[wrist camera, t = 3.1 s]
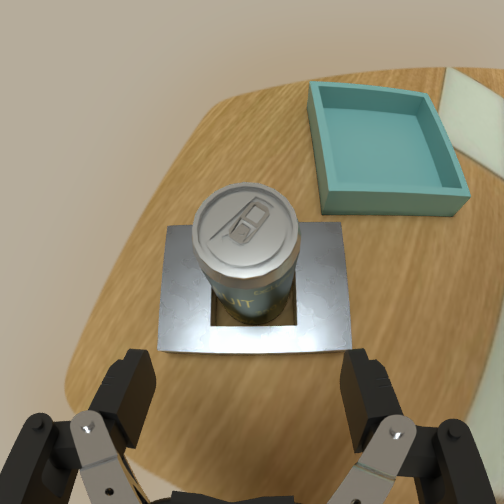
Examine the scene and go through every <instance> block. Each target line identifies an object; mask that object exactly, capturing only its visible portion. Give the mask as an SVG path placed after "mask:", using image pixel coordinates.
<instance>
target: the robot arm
mask: <svg viewBox="0 0 504 504" xmlns="http://www.w3.org/2000/svg"><path fill="white" fill-rule="evenodd" d="M391 385H392V384H391V382H390V379H389V378H388V374H387V372H386V370H385V367H384V366H383V365H382V364H381V363H380V362H379V361H377V360H369V359H368V356H367V354H366V351H365V349H364V348H361V349H349V350H345V353H344V359H343V364H342V369H341V375H340V390H341V394H342V399H343V403H344V407H345V412H346V416H347V421H348V425H349V430H350V434H351V439H352V443H353V448H354V453H361V452H363V454H362V456H361V457H360V459H359V460H358V462H357V463H356V464H355V465H354V466H353V467H352V469H351V470H350V472H349V473H348V475H347V476H346V478H345V479H344V480H343V482H342V483H341V485H340V486H339V488H338V489H337V490H336V492H335V493H334V495H333V496H332V497H331V499H330V500H329V501H328V503H327V504H383V502H384V501H385V499H386V497H387V495H388V494H389V492H390V490H391V488H392V486H393V484H394V482H395V480H396V479H395V478H396V476H404V477H414V481H415V485H416V490H417V495H418V500H419V504H496V501H495V497H494V494H493V491H492V488H491V485H490V482H489V479H488V476H487V473H486V470H485V468H484V465H483V462H482V459H481V457H480V454H479V451H478V449H477V446H476V444H475V441H474V439H473V436H472V434H471V431H470V429H469V427H468V426H467V425H466V424H465V423H464V422H463V421H461V420H458V419H448V420H445V421H444V422H442V423H441V424H440V426H439V427H438V428H437V427H422V426H417V425H415V424H414V422H413V421H412V420H411V419H409V418H408V417H406V416H404V415H403V413H402V410H401V407H400V405H399V402H398V400H397V397H396V394H395V392H394V389H393V387H392V386H391ZM155 389H156V376H155V372H154V369H153V366H152V362H151V359H150V356H149V353H148V351H147V350H141V349H129V350H128V351H127V353H126V355H125V357H124V359H123V360H119V359H118V360H117V361H116V362H115V363H114V364H113V365H111V366H110V368H109V370H108V371H107V373H106V375H105V377H104V379H103V381H102V385H100V387H99V389H98V391H97V393H96V395H95V397H94V399H93V401H92V403H91V405H90V407H89V409H88V410H87V411H82V412H80V413H78V414H77V415H75V416H74V417H73V419H72V421H60V422H53V420H52V419H51V417H50V416H49V415H47V414H45V413H36V414H33V415H31V416H30V417H29V418H28V419H27V420H26V422H25V424H24V425H23V428H22V429H21V431H20V433H19V435H18V437H17V439H16V441H15V443H14V445H13V447H12V449H11V452H10V454H9V456H8V458H7V460H6V463H5V465H4V467H3V469H2V471H1V473H0V504H68V502H69V499H70V495H71V492H72V489H73V486H74V483H75V479H76V476H77V473H78V470H79V469H80V474H81V477H82V480H83V483H84V485H85V488H86V491H87V493H88V496H89V499H90V501H91V503H92V504H301V503H296V502H294V496H274V497H259V498H254V499H249V500H244V501H239V502H227V501H223V500H219V499H216V498H213V497H209V496H206V495H203V494H196V493H187V492H179V491H172V495H171V497H169V498H163V499H159V500H155V501H153V502H150V501H149V499H148V498H147V496H146V494H145V493H144V491H143V490H142V488H141V486H140V484H139V483H138V481H137V479H136V477H135V475H134V473H133V471H132V469H131V467H130V465H129V463H128V461H127V459H126V457H125V455H124V452H125V449H126V447H128V448H133V449H136V446H137V443H138V440H139V437H140V433H141V430H142V427H143V424H144V421H145V418H146V415H147V412H148V409H149V406H150V403H151V401H152V398H153V395H154V392H155Z"/></svg>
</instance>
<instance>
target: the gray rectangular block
mask: <svg viewBox="0 0 504 504" xmlns="http://www.w3.org/2000/svg"><path fill="white" fill-rule="evenodd" d="M298 223H299V227H300V231H301V244H300V252H299V256H298V260H297V264H296V268H295V273H294V277H293V297H294V326H255V327H219V326H216V293H215V291H214V290H213V288H212V286H211V285H210V283H209V281H208V280H207V278H206V277H205V275H204V273H203V271H202V270H201V268H200V266H199V264H198V262H197V260H196V258H195V256H194V254H193V245H192V226H193V225H175V226H167V235H166V243H165V253H164V263H163V273H162V285H161V297H160V311H159V327H158V347H157V350H158V351H162V352H166V353H178V354H202V355H292V354H316V353H333V352H345V350H349V349H352V337H351V320H350V306H349V294H348V283H347V272H346V262H345V253H344V244H343V236H342V228H341V222H298Z"/></svg>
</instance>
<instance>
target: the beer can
mask: <svg viewBox="0 0 504 504" xmlns="http://www.w3.org/2000/svg"><path fill="white" fill-rule="evenodd" d="M300 244H301V231H300V227H299V223H298V219H297V218H296V214H295V211H294V209H293V208H292V206H291V205H290V203H289V202H288V200H287V199H286V198H285V197H284V196H283V195H281V194H280V193H279V192H278V191H276V190H275V189H273V188H270V187H268V186H265V185H263V184H259V183H249V182H242V183H236V184H230V185H228V186H225V187H223V188H221V189H219V190H217V191H215V192H214V193H213V194H211V195H210V196H209V197H208V198H207V199H206V200H204V201H203V203H202V205H201V206H200V208H199V209H198V211H197V212H196V214H195V218H194V222H193V226H192V245H193V254H194V256H195V258H196V260H197V262H198V264H199V266H200V268H201V270H202V271H203V273H204V275H205V277H206V278H207V280H208V281H209V283H210V285H211V286H212V288H213V290H214V291H215V293H216V295H217V296H218V298H219V300H220V301H221V303H222V304H223V306H224V308H225V309H226V311H227V312H228V313H229V314H230V315H231V316H232V317H233V318H234V319H236V320H238V321H240V322H242V323H246V324H253V325H256V324H262V323H266V322H268V321H270V320H272V319H274V318H276V317H277V316H278V315H279V313H280V312H281V311H282V310H283V309H284V307H285V305H286V303H287V300H288V297H289V293H290V289H291V285H292V281H293V277H294V273H295V268H296V264H297V260H298V256H299V252H300Z"/></svg>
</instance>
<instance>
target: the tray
mask: <svg viewBox="0 0 504 504" xmlns="http://www.w3.org/2000/svg"><path fill="white" fill-rule="evenodd" d="M307 112H308V118H309V124H310V130H311V137H312V143H313V150H314V157H315V164H316V172H317V179H318V187H319V195H320V204H321V212H322V215H409V216H448V217H453V216H454V215H455V214H456V212H457V211H458V210H459V209H460V208H461V207H462V206H463V205H464V204H465V203H466V202H467V201H468V200H469V199H470V197H471V195H470V192H469V189H468V186H467V183H466V180H465V177H464V175H463V172H462V169H461V167H460V164H459V161H458V159H457V156H456V154H455V151H454V149H453V147H452V144H451V142H450V140H449V137H448V135H447V133H446V131H445V128H444V126H443V124H442V122H441V120H440V118H439V116H438V113H437V111H436V109H435V107H434V105H433V103H432V101H431V99H430V98H429V96H428V94H427V93H421V92H415V91H409V90H402V89H395V88H388V87H380V86H371V85H361V84H349V83H335V82H316V81H310V83H309V93H308V102H307Z"/></svg>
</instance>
